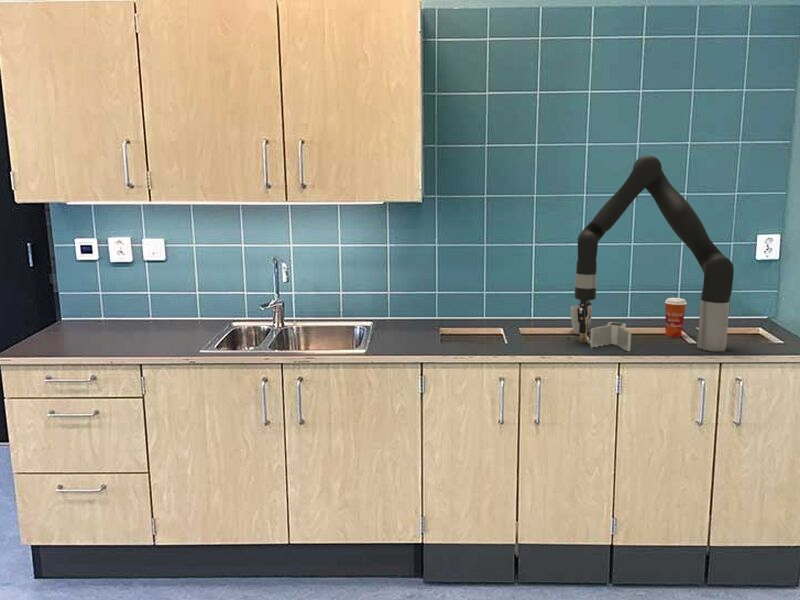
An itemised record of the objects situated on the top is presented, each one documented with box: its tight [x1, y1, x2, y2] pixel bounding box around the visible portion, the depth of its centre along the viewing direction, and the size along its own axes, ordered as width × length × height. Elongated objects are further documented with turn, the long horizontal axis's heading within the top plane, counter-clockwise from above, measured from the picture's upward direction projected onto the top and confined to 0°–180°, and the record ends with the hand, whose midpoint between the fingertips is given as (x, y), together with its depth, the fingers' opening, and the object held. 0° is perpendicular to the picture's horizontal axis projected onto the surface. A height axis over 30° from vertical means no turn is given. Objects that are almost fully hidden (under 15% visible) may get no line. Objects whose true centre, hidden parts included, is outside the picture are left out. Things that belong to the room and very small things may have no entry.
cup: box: [570, 305, 593, 335], centre depth 278 cm, size 8×8×10 cm
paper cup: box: [664, 297, 688, 338], centre depth 272 cm, size 8×8×14 cm
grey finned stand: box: [589, 321, 632, 352], centre depth 258 cm, size 14×14×7 cm
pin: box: [579, 314, 588, 343], centre depth 264 cm, size 3×3×13 cm
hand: (583, 331), depth 264 cm, fingers open, 3 cm apart
